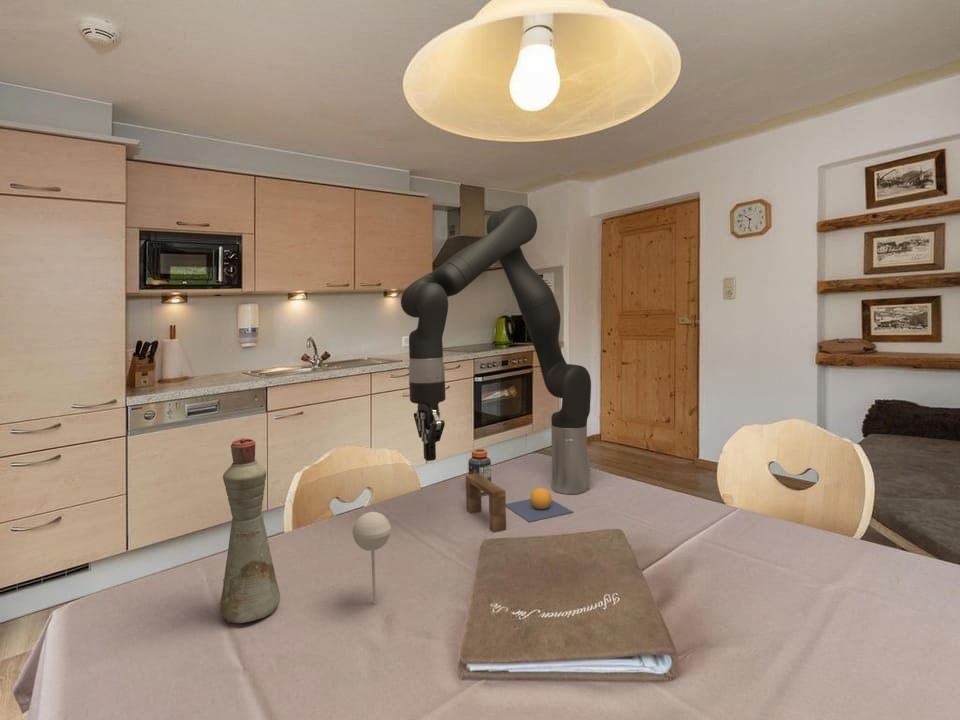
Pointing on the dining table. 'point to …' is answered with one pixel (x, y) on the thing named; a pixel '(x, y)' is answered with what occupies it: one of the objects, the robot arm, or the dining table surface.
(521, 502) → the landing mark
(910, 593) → the dining table surface
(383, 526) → the lollipop
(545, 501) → the ball
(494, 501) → the bridge
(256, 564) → the bottle
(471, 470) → the pill bottle
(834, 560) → the dining table surface
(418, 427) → the robot arm
